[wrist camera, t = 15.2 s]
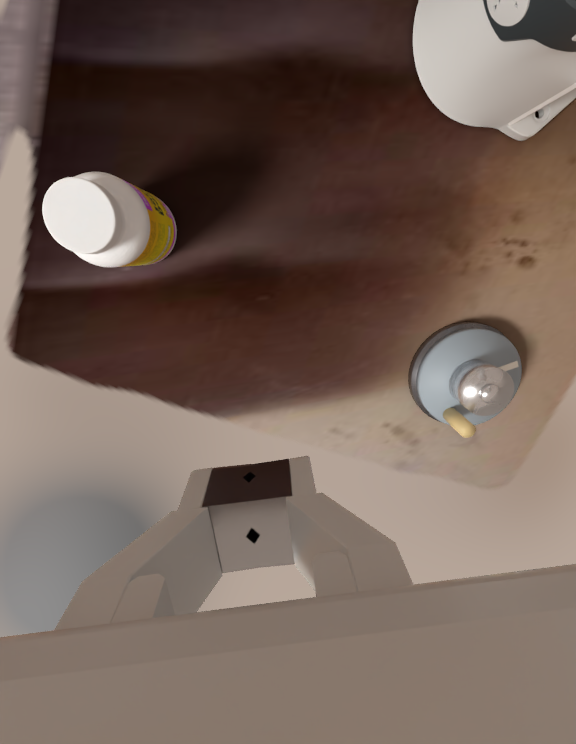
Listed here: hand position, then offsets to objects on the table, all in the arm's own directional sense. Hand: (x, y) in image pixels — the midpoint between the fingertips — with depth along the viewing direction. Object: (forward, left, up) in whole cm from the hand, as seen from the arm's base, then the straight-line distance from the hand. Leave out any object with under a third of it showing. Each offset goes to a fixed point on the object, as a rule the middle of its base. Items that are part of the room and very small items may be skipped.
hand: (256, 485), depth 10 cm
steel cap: (-15, +18, -29) cm, 37 cm away
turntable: (-15, +18, -30) cm, 38 cm away
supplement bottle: (+6, -13, -31) cm, 34 cm away
